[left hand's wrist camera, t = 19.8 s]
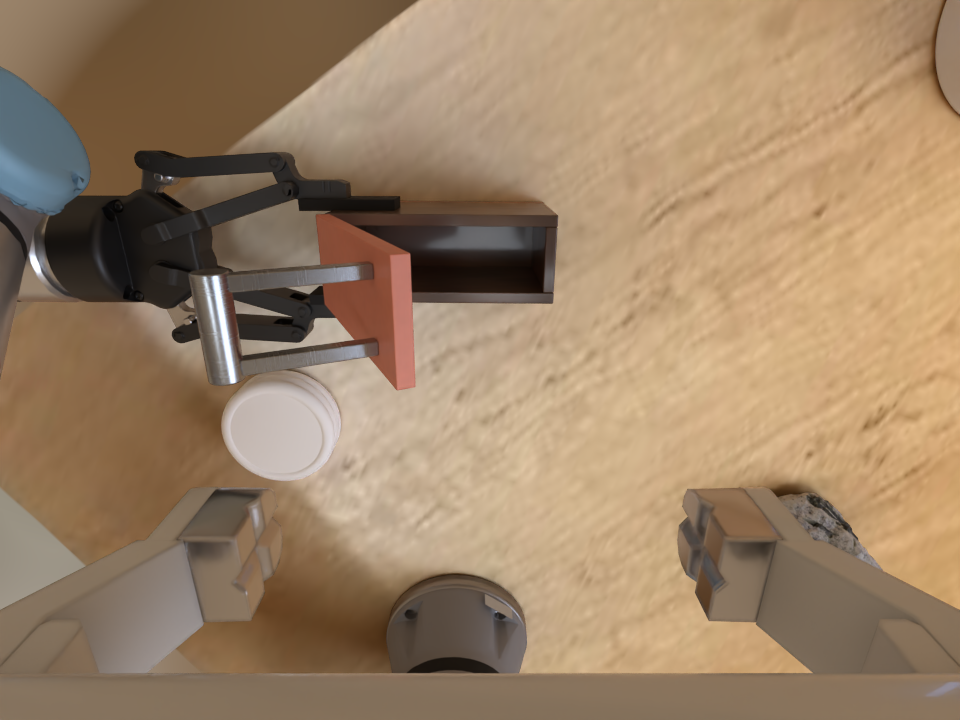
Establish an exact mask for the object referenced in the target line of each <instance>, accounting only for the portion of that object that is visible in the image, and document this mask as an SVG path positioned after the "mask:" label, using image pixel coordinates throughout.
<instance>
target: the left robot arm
mask: <svg viewBox="0 0 960 720" xmlns="http://www.w3.org/2000/svg"><path fill="white" fill-rule="evenodd" d="M935 61H936V70H937V76H938V80H939V83H940V86H941V89H942V91H943V93H944V95H945V97H946V99H947V101H948V102H949V103H950V105H951V106H952V107H953V109H954V110H955V111H956V112H957V113H958V114H959V115H960V0H947V1H946V3H945V6H944V9H943V12H942V15H941V18H940V22H939V26H938V32H937V37H936V47H935ZM277 507H278V505H277V501H276V496H275V492H274V491H273V490H272V489H271V488H237V487H221V488H219V487H195V488H192V489H190V490H189V491H188V492H187V493H186V494H185V495H184V496H183V497H182V499H181V500H180V501H179V502H178V503H177V504H176V506H175V507H174V508H173V509H172V510H171V511H170V512H169V514H168V515H167V516H166V517H165V518H164V519H163V521H162V522H161V523H160V524H159V525H158V526H157V528H156V529H155V530H154V531H153V532H152V533H151V534H150V536H149V537H148V538H147V539H146V540H137V541H135V542H133V543H131V544H129V545H127V546H125V547H123V548H121V549H119V550H117V551H115V552H113V553H111V554H109V555H107V556H105V557H103V558H101V559H99V560H98V561H96V562H94V563H92V564H90V565H88V566H86V567H84V568H82V569H80V570H78V571H76V572H74V573H72V574H70V575H68V576H66V577H64V578H62V579H60V580H58V581H56V582H54V583H52V584H50V585H48V586H46V587H44V588H42V589H40V590H38V591H36V592H35V593H33V594H31V595H29V596H27V597H25V598H23V599H21V600H19V601H17V602H15V603H13V604H11V605H9V606H7V607H5V608H3V609H1V610H0V720H960V610H959V609H957V608H955V607H953V606H951V605H949V604H947V603H945V602H943V601H941V600H939V599H937V598H935V597H933V596H931V595H929V594H927V593H925V592H923V591H921V590H919V589H917V588H915V587H913V586H911V585H909V584H908V583H906V582H904V581H902V580H900V579H898V578H896V577H894V576H892V575H890V574H888V573H886V572H884V571H882V570H880V569H878V568H876V567H874V566H872V565H870V564H868V563H866V562H864V561H862V560H860V559H858V558H856V557H854V556H853V555H851V554H849V553H847V552H845V551H843V550H841V549H839V548H837V547H835V546H833V545H831V544H829V543H827V542H825V541H823V540H814V539H813V538H812V537H811V536H810V535H809V533H808V532H807V531H806V530H805V529H804V528H803V526H802V525H801V524H800V523H799V522H798V521H797V519H796V518H795V517H794V516H793V515H792V514H791V513H790V511H789V510H788V509H787V508H786V507H785V506H784V504H783V503H782V502H781V501H780V500H779V499H778V498H777V496H776V495H775V494H774V493H773V492H772V491H771V490H770V489H768V488H766V487H741V488H712V489H687V491H686V493H685V495H684V500H683V505H682V507H683V509H684V511H685V512H686V514H687V516H688V517H687V518H686V519H685V520H684V521H683V522H682V523H681V524H680V525H679V531H678V539H677V541H678V553H679V557H680V561H681V564H682V567H683V569H684V571H685V573H686V575H688V576H689V577H690V578H692V579H693V580H695V581H696V582H697V584H696V589H695V594H696V596H697V598H698V600H699V602H700V604H701V606H702V608H703V610H704V612H705V614H706V616H707V618H708V620H709V621H730V622H757V623H756V625H757V626H759V627H760V628H761V629H762V630H763V631H764V632H766V633H767V634H768V635H769V636H770V637H771V638H773V639H774V640H775V641H776V642H777V643H779V644H780V645H781V646H782V647H783V648H784V649H786V650H787V651H788V652H789V653H790V654H792V655H793V656H794V657H795V658H796V659H797V660H799V661H800V662H801V663H802V664H803V665H805V666H806V667H807V668H808V669H809V670H810V671H812V672H813V673H147V672H148V671H150V670H151V669H152V668H153V667H154V666H156V665H157V664H158V663H159V662H160V661H162V660H163V659H164V658H165V657H166V656H167V655H169V654H170V653H171V652H172V651H173V650H174V649H176V648H177V647H178V646H179V645H180V644H182V643H183V642H184V641H185V640H186V639H188V638H189V637H190V636H191V635H192V634H193V633H195V632H196V631H197V630H198V629H199V628H201V627H202V626H203V625H204V623H203V622H229V621H251V620H252V618H253V616H254V614H255V612H256V610H257V608H258V606H259V604H260V602H261V600H262V598H263V596H264V594H265V589H264V584H263V582H264V581H265V580H267V579H268V578H270V577H271V576H272V575H274V573H275V571H276V569H277V566H278V564H279V561H280V556H281V552H282V530H281V525H280V524H279V523H278V522H277V521H276V520H275V519H274V518H273V517H272V516H273V514H274V512H275V511H276V509H277Z"/></svg>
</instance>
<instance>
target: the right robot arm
mask: <svg viewBox="0 0 960 720" xmlns="http://www.w3.org/2000/svg"><path fill="white" fill-rule="evenodd" d="M134 159H135V163H136V165H137V166H138V167H139V168H141V169H142V184H141V189H139V190H136V191H134V192H133V193H131V194H130V195H128V196H78V195H79V194H81V193H82V192H83V191H84V190H85V188H86V187H87V185H88V183H89V180H90V173H91V171H90V163H89V159H88V156H87V153H86V150H85V148H84V146H83V144H82V142H81V140H80V138H79V137H78V135H77V133H76V132H75V130H74V129H73V127H72V126H71V125H70V123H69V122H68V121H67V120H66V118H65V117H64V116H63V115H62V114H61V113H60V112H59V110H58V109H57V108H56V107H55V106H54V105H53V104H52V103H51V102H50V101H49V100H48V99H46V98H44V97H43V96H41V95H40V94H39V93H38V92H37V91H35V90H34V89H33V88H32V87H31V86H30V85H28V84H27V83H26V82H25V81H24V80H22V79H21V78H19V77H18V76H16V75H15V74H13V73H11V72H10V71H8V70H6V69H4V68H2V67H0V378H1V373H2V369H3V364H4V360H5V355H6V350H7V346H8V341H9V336H10V332H11V327H12V323H13V318H14V313H15V309H16V304H17V301H19V302H20V301H27V302H80V301H87V302H147V303H151V304H154V305H156V306H158V307H160V308H163V309H167V310H168V312H169V314H170V316H171V318H172V320H173V322H174V324H175V326H176V329H174V330H173V331H172V337H173V339H174V340H175V341H176V342H178V343H185V342H189V341H192V340H196V339H199V338H200V334H199V329H198V323H197V318H196V313H195V308H190V307H189V306H187V305H186V303H185V301H186V300H187V299H189V298H190V297H191V296H192V292H191V287H190V281H189V276H188V274H189V272H192V271H195V270H199V269H207V268H222V269H227V270H228V271H229V272H233V271H232V270H231V269H229V268H225V267H222V266H219V265H217V260H216V257H215V255H214V252H213V250H212V238H213V237H212V231H211V227H212V226H215V225H218V224H221V223H224V222H227V221H230V220H233V219H236V218H239V217H242V216H245V215H248V214H251V213H254V212H257V211H260V210H263V209H266V208H269V207H272V206H275V205H278V204H281V203H284V202H287V201H290V200H293V199H298V204H299V211H333V210H349V211H395V210H397V209H398V208H400V196H351V188H350V183H349V182H347V181H344V180H308V179H305V178H303V177H302V176H301V175H300V174H299V172H298V170H297V168H296V166H295V159H294V157H293V156H292V155H291V154H290V153H286V152H272V153H256V154H240V155H224V156H208V157H192V158H186V157H182V156H179V155H175V154H172V153H169V152H166V151H138V152H137V153H136V154H135V157H134ZM264 172H273V174H274V176H275V179H276V181H277V183H278V184H275V185H272V186H269V187H266V188H263V189H260V190H257V191H254V192H251V193H248V194H245V195H242V196H239V197H236V198H233V199H231V200H228V201H225V202H222V203H219V204H216V205H213V206H210V207H207V208H204V209H201V210H197V211H194V212H193V211H191V210H190V209H188V208H187V207H185V206H183V205H182V204H180V203H179V202H177V201H176V200H174V199H173V198H171V197H170V196H168V195H167V194H165V193H164V192H163V189H164V188H165V187H166V186H170V185H176V184H177V183H178V182H179V181H180V178H182V177H199V176H215V175H231V174H247V173H264ZM232 294H233V300H237V301H240V302H243V303H247V304H250V305H254V306H257V307H261V308H264V309H268V310H271V311H275V312H278V313H281V314H285V315H288V316H292V317H283V316H267V315H251V314H236V319H237V325H238V331H239V337H240V339H245V340H262V341H278V342H295V343H298V342H301V341H303V340H304V338H305V337H306V336H307V335H308V334H309V333H310V332H311V331H312V330H313V327H314V325H313V323H314V319H315V318H336V317H335V316H334V315H333V313H332V312H331V311H330V310H329V309H328V308H327V306H326V305H325V302H324V292H323V286H319V287H318V288H317V289H315V290H314V291H313V292H312V293H311V294H306V293H303V292H299V291H296V290H292V289H289V288H275V289H264V290H254V291H243V292H232ZM386 641H387V648H388V653H389V659H390V664H391V670H392V673H519V671H520V668H521V664H522V661H523V657H524V654H525V650H526V645H527V635H526V625H525V618H524V615H523V612H522V610H521V608H520V606H519V604H518V603H517V602H516V600H515V599H514V598H513V597H512V596H511V595H510V594H509V593H508V592H507V591H505V590H504V589H503V588H501V587H499V586H498V585H496V584H494V583H492V582H490V581H487V580H484V579H481V578H477V577H472V576H465V575H447V576H440V577H435V578H432V579H428V580H426V581H423V582H421V583H419V584H417V585H415V586H413V587H412V588H410V589H409V590H408V591H406V592H405V593H404V594H403V595H402V596H401V597H400V598H399V599H398V601H397V602H396V604H395V605H394V607H393V609H392V612H391V615H390V619H389V624H388V629H387V636H386Z"/></svg>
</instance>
